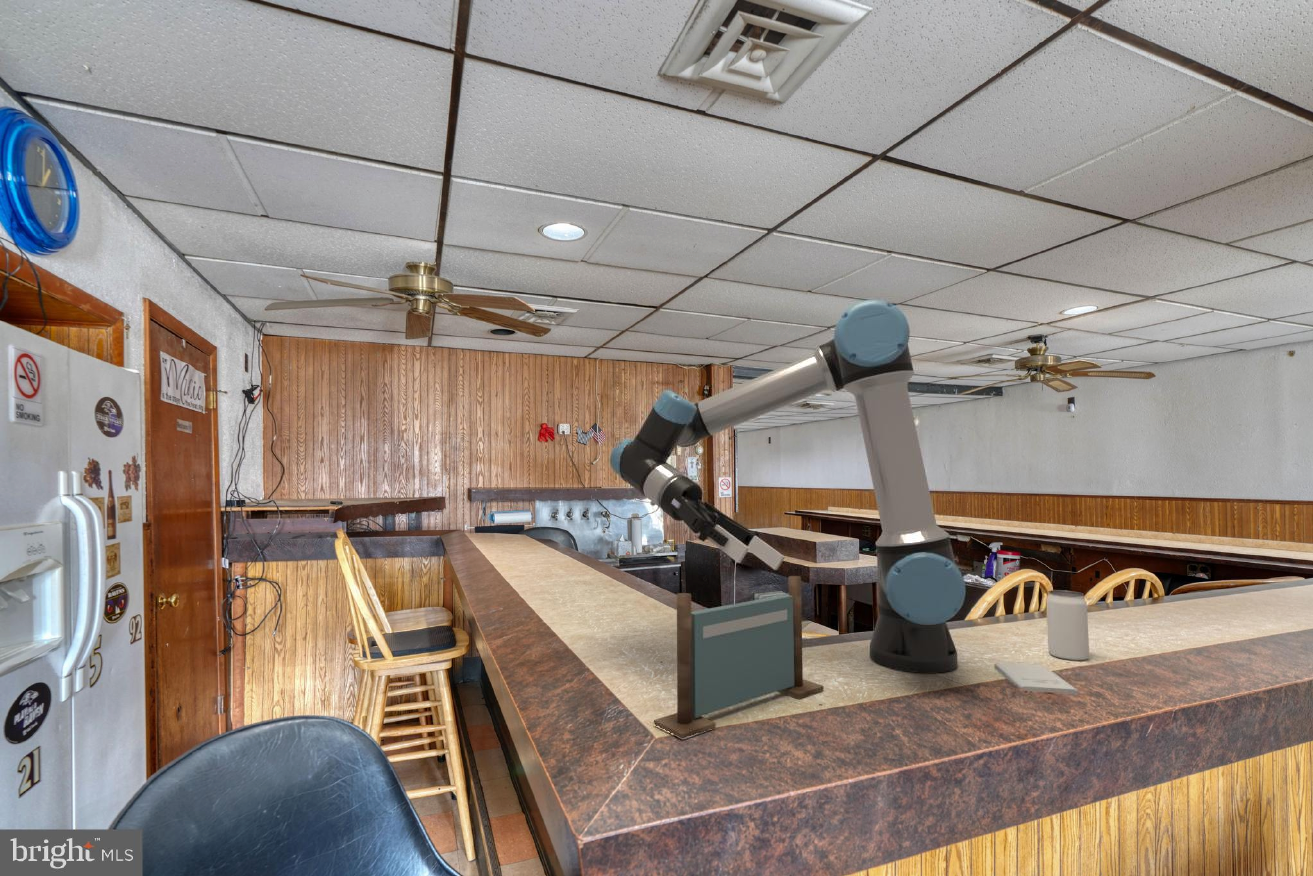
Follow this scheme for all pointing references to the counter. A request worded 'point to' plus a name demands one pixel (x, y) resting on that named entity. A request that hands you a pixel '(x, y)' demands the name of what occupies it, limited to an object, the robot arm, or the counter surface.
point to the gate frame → (683, 719)
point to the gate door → (741, 652)
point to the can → (1067, 625)
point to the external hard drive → (1034, 678)
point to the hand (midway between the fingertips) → (763, 559)
